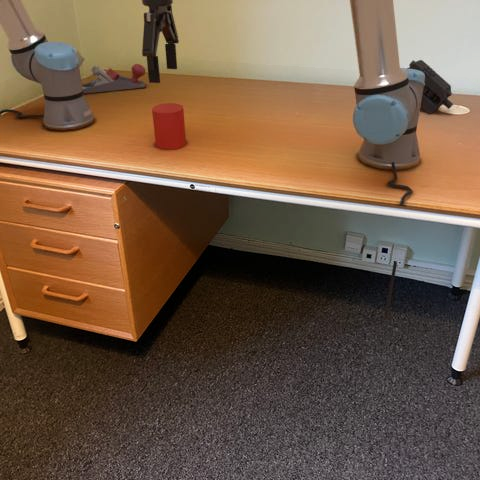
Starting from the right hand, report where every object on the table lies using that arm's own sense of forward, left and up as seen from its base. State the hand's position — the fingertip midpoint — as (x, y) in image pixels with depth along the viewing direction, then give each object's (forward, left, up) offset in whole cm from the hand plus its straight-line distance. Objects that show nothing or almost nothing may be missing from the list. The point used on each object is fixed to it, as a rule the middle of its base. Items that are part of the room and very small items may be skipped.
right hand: (163, 75), depth 141 cm
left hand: (+52, +17, +22) cm, 59 cm away
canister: (0, 0, -19) cm, 19 cm away
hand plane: (+56, +28, -19) cm, 66 cm away
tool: (+23, -79, -19) cm, 85 cm away
